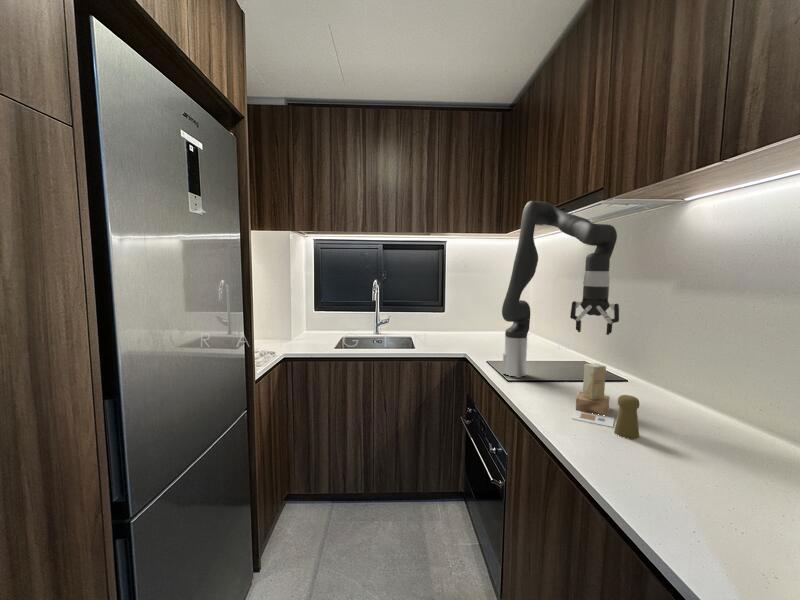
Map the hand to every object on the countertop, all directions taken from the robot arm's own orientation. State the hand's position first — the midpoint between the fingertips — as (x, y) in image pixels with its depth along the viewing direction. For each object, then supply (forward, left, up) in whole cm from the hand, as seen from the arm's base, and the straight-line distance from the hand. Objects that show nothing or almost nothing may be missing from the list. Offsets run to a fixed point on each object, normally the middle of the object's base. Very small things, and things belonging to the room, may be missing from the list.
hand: (593, 333), depth 121 cm
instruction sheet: (+2, -11, -25) cm, 28 cm away
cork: (+11, -18, -25) cm, 33 cm away
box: (+1, -2, -21) cm, 22 cm away
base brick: (+1, -2, -25) cm, 25 cm away
